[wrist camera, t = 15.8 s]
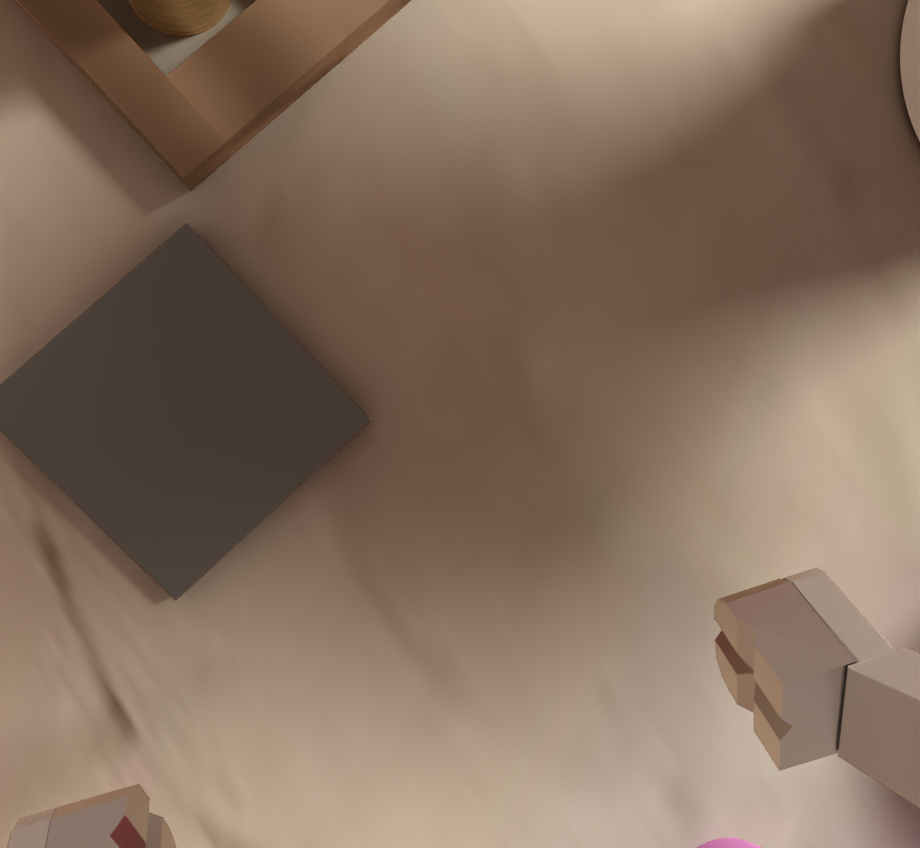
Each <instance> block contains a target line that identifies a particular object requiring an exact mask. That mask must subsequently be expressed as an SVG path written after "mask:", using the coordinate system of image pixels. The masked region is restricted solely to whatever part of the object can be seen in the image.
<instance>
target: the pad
mask: <svg viewBox="0 0 920 848" xmlns="http://www.w3.org/2000/svg"><path fill="white" fill-rule="evenodd" d="M369 421H370V419H369V418H368V417H367V416H366V414H365V413H364V412H363V411H362V410H361V409H360V408H359V407H358V406H357V405H356V404H355V403H354V402H353V401H352V399H351V398H350V397H349V396H348V395H347V394H346V393H345V392H344V391H343V390H342V389H341V388H340V387H339V386H338V384H337V383H336V382H335V381H334V380H333V379H332V378H331V377H330V376H329V375H328V374H327V373H326V372H325V371H324V369H323V368H322V367H321V366H320V365H319V364H318V363H317V362H316V361H315V360H314V359H313V358H312V357H311V356H310V355H309V353H308V352H307V351H306V350H305V349H304V348H303V347H302V346H301V345H300V344H299V343H298V342H297V341H296V340H295V338H294V337H293V336H292V335H291V334H290V333H289V332H288V331H287V330H286V329H285V328H284V327H283V326H282V325H281V323H280V322H279V321H278V320H277V319H276V318H275V317H274V316H273V315H272V314H271V313H270V312H269V311H268V310H267V309H266V307H265V306H264V305H263V304H262V303H261V302H260V301H259V300H258V299H257V298H256V297H255V296H254V295H253V294H252V292H251V291H250V290H249V289H248V288H247V287H246V286H245V285H244V284H243V283H242V282H241V281H240V280H239V279H238V277H237V276H236V275H235V274H234V273H233V272H232V271H231V270H230V269H229V268H228V267H227V266H226V265H225V264H224V263H223V261H222V260H221V259H220V258H219V257H218V256H217V255H216V254H215V253H214V252H213V251H212V250H211V249H210V248H209V246H208V245H207V244H206V243H205V242H204V241H203V240H202V239H201V238H200V237H199V236H198V235H197V234H196V233H195V231H194V230H193V229H192V228H191V227H190V226H189V225H188V224H187V223H186V224H185V225H184V226H183V227H181V228H180V229H179V230H178V231H177V232H176V233H175V234H173V235H172V236H171V237H170V238H169V239H168V240H167V241H165V242H164V243H163V244H162V245H161V246H160V247H158V248H157V249H156V250H155V251H154V252H153V253H152V254H150V255H149V256H148V257H147V258H146V259H145V260H144V261H142V262H141V263H140V264H139V265H138V266H137V267H135V268H134V269H133V270H132V271H131V272H130V273H129V274H127V275H126V276H125V277H124V278H123V279H122V280H121V281H119V282H118V283H117V284H116V285H115V286H114V287H113V288H111V289H110V290H109V291H108V292H107V293H106V294H104V295H103V296H102V297H101V298H100V299H99V300H98V301H96V302H95V303H94V304H93V305H92V306H91V307H90V308H88V309H87V310H86V311H85V312H84V313H83V314H82V315H80V316H79V317H78V318H77V319H76V320H75V321H73V322H72V323H71V324H70V325H69V326H68V327H67V328H65V329H64V330H63V331H62V332H61V333H60V334H59V335H57V336H56V337H55V338H54V339H53V340H52V341H50V342H49V343H48V344H47V345H46V346H45V347H44V348H42V349H41V350H40V351H39V352H38V353H37V354H36V355H34V356H33V357H32V358H31V359H30V360H29V361H28V362H26V363H25V364H24V365H23V366H22V367H21V368H19V369H18V370H17V371H16V372H15V373H14V374H13V375H11V376H10V377H9V378H8V379H7V380H6V381H5V382H3V383H2V384H1V385H0V430H1V431H2V432H3V433H4V434H5V435H6V436H7V437H8V438H9V439H10V440H11V441H12V442H13V443H14V444H15V445H16V446H17V447H18V448H20V449H21V450H22V451H23V452H24V453H25V454H26V455H27V456H28V457H29V458H30V459H31V460H32V461H33V462H34V463H35V464H36V465H37V466H38V467H39V468H40V469H41V470H42V471H43V472H44V473H45V474H46V475H47V476H48V477H49V478H50V479H51V480H52V481H53V482H54V483H55V484H56V485H57V486H58V487H59V488H60V489H61V490H63V491H64V492H65V493H66V494H67V495H68V496H69V497H70V498H71V499H72V500H73V501H74V502H75V503H76V504H77V505H78V506H79V507H80V508H81V509H82V510H83V511H84V512H85V513H86V514H87V515H88V516H89V517H90V518H91V519H92V520H93V521H94V522H95V523H96V524H97V525H98V526H99V527H100V528H101V529H102V530H103V531H105V532H106V533H107V534H108V535H109V536H110V537H111V538H112V539H113V540H114V541H115V542H116V543H117V544H118V545H119V546H120V547H121V548H122V549H123V550H124V551H125V552H126V553H127V554H128V555H129V556H130V557H131V558H132V559H133V560H134V561H135V562H136V563H137V564H138V565H139V566H140V567H141V568H142V569H143V570H144V571H145V572H147V573H148V574H149V575H150V576H151V577H152V578H153V579H154V580H155V581H156V582H157V583H158V584H159V585H160V586H161V587H162V588H163V589H164V590H165V591H166V592H167V593H168V594H169V595H170V596H171V597H172V598H173V599H174V600H175V601H176V600H177V599H178V598H179V597H180V596H181V595H182V594H183V593H184V592H185V591H187V590H188V589H189V588H190V587H191V586H192V585H193V584H194V583H195V582H196V581H197V580H198V579H199V578H201V577H202V576H203V575H204V574H205V573H206V572H207V571H208V570H209V569H210V568H211V567H212V566H213V565H215V564H216V563H217V562H218V561H219V560H220V559H221V558H222V557H223V556H224V555H225V554H226V553H227V552H229V551H230V550H231V549H232V548H233V547H234V546H235V545H236V544H237V543H238V542H239V541H240V540H241V539H243V538H244V537H245V536H246V535H247V534H248V533H249V532H250V531H251V530H252V529H253V528H254V527H255V526H257V525H258V524H259V523H260V522H261V521H262V520H263V519H264V518H265V517H266V516H267V515H268V514H269V513H271V512H272V511H273V510H274V509H275V508H276V507H277V506H278V505H279V504H280V503H281V502H282V501H283V500H285V499H286V498H287V497H288V496H289V495H290V494H291V493H292V492H293V491H294V490H295V489H296V488H297V487H299V486H300V485H301V484H302V483H303V482H304V481H305V480H306V479H307V478H308V477H309V476H310V475H311V474H313V473H314V472H315V471H316V470H317V469H318V468H319V467H320V466H321V465H322V464H323V463H324V462H325V461H327V460H328V459H329V458H330V457H331V456H332V455H333V454H334V453H335V452H336V451H337V450H338V449H339V448H341V447H342V446H343V445H344V444H345V443H346V442H347V441H348V440H349V439H350V438H351V437H352V436H353V435H355V434H356V433H357V432H358V431H359V430H360V429H361V428H362V427H363V426H364V425H365V424H366V423H367V422H369Z"/></svg>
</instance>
